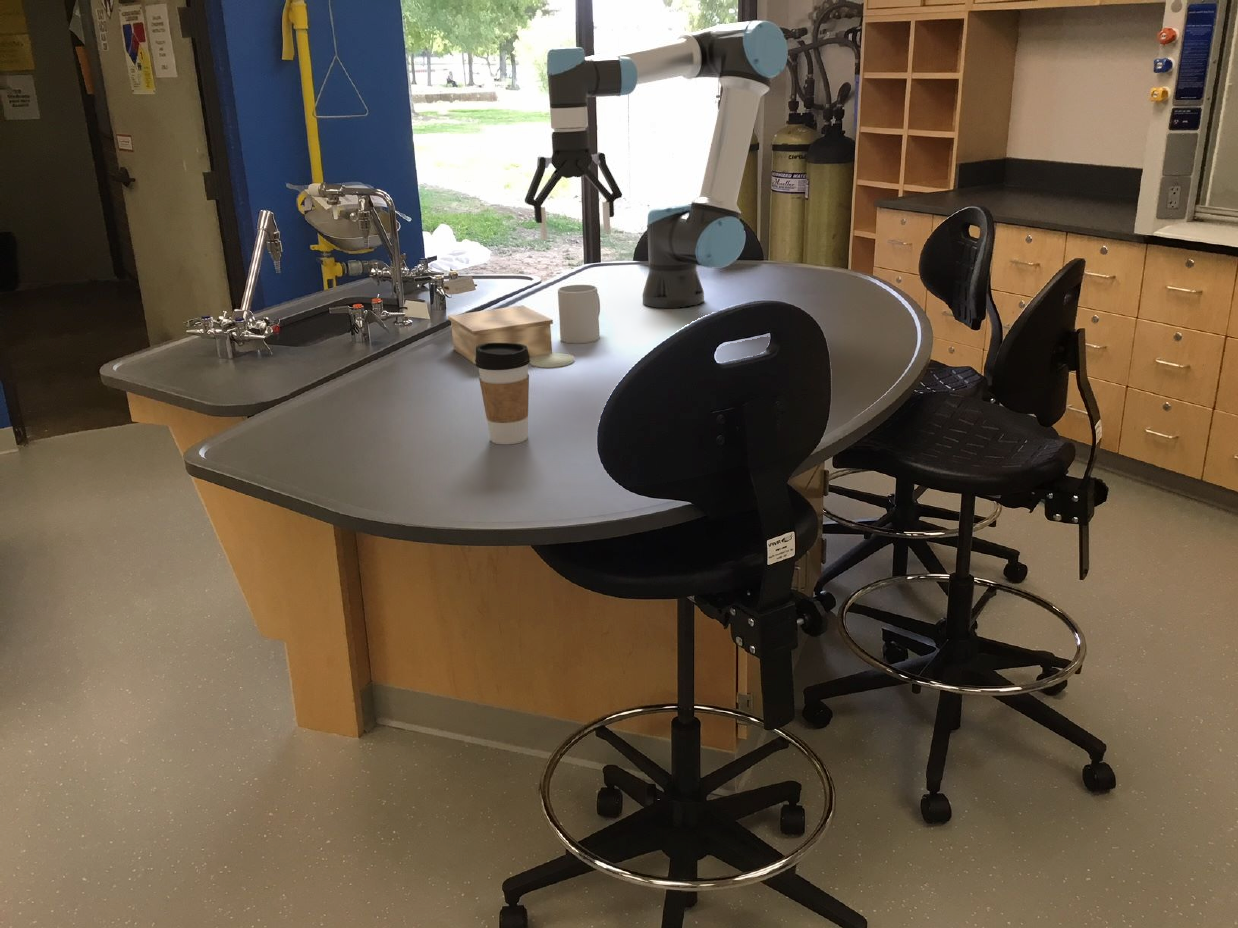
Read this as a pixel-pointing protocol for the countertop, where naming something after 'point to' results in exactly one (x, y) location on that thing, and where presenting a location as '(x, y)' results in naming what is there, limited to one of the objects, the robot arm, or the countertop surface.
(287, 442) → the countertop surface
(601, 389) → the countertop surface
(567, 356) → the felt coaster
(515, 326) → the maple box
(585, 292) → the mug
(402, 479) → the countertop surface
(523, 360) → the coffee cup
